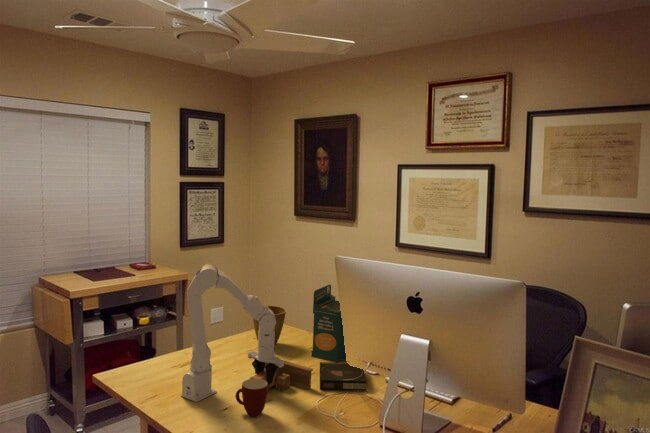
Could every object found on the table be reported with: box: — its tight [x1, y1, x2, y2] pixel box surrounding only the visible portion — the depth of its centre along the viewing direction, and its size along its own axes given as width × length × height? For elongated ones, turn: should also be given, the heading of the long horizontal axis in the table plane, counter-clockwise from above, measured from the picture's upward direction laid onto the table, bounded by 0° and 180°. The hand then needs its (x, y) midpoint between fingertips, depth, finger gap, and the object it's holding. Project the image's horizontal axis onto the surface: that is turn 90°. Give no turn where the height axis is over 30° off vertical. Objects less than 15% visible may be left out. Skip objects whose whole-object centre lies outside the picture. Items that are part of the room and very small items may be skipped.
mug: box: [235, 378, 269, 418], centre depth 154 cm, size 10×8×10 cm
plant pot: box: [252, 305, 287, 348], centre depth 216 cm, size 15×15×16 cm
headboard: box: [254, 359, 314, 392], centre depth 178 cm, size 8×25×7 cm, turn 58°
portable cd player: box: [319, 361, 367, 392], centre depth 182 cm, size 16×17×4 cm
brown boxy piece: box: [249, 367, 280, 389], centre depth 171 cm, size 12×4×6 cm, turn 148°
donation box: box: [310, 284, 347, 363], centre depth 207 cm, size 16×16×28 cm
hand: (265, 382), depth 172 cm, fingers closed on brown boxy piece, 3 cm apart
